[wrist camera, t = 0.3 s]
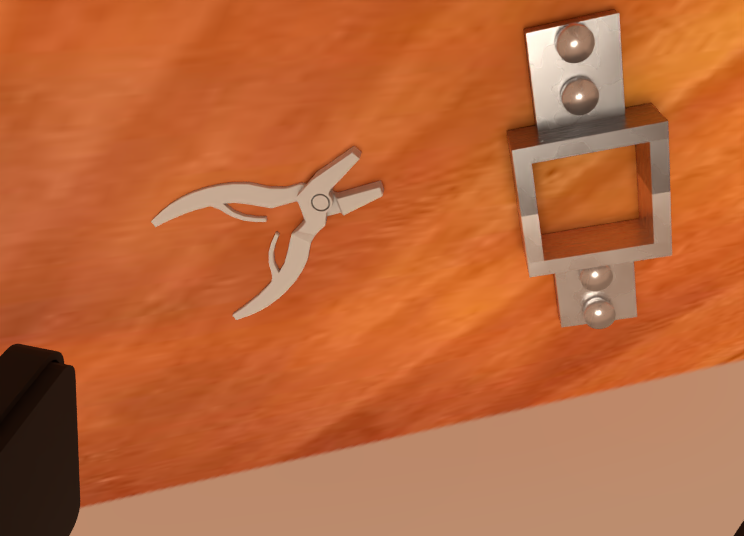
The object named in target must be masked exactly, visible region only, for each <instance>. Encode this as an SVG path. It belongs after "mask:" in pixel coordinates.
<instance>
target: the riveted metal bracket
mask: <svg viewBox="0 0 744 536" xmlns="http://www.w3.org/2000/svg"><path fill="white" fill-rule="evenodd" d="M524 37H525V45H526V53H527V61H528V69H529V78H530V86H531V94H532V102H533V110H534V118H535V125H534V126H529V127H523V128H518V129H513V130H508V131H507V138H508V145H509V152H510V159H511V166H512V173H513V180H514V187H515V194H516V201H517V208H518V215H519V222H520V229H521V236H522V243H523V250H524V254H525V259H526V263H527V268H528V272H529V276H530V277H534V276H541V275H547V274H554V281H555V290H556V298H557V306H558V314H559V320H560V323H561V327H567V326H574V325H582V324H587V325H589V326H590V327H592V328H595V329H603V328H606V327H608V326H610V325H611V324H612V323H613V322H614V320H617V319H625V318H632V317H637V308H636V291H635V274H634V261H639V260H645V259H652V258H658V257H665V256H671V255H672V236H671V201H670V166H669V131H668V120H667V119H666V118H665V117H664V116H663V115H662V114H661V113H660V112H659V111H658V110H657V109H656V108H655V106H654V105H653V104H652V103H648V104H643V105H637V106H632V107H627V108H625V104H624V87H623V69H622V52H621V35H620V18H619V13H618V12H617V11H616V10H615V9H613V10H609V11H604V12H600V13H595V14H591V15H586V16H582V17H577V18H572V19H568V20H563V21H559V22H554V23H550V24H545V25H540V26H536V27H531V28H527V29H524ZM635 144H636V163H637V182H638V201H639V219H634V220H628V221H621V222H615V223H609V224H603V225H597V226H591V227H585V228H579V229H573V230H567V231H561V232H555V233H548V234H542V235H541V233H540V225H539V217H538V209H537V202H536V194H535V186H534V178H533V171H532V163H537V162H542V161H548V160H553V159H559V158H564V157H570V156H575V155H580V154H586V153H591V152H597V151H602V150H608V149H613V148H619V147H624V146H630V145H635Z"/></svg>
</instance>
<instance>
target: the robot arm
mask: <svg viewBox="0 0 744 536" xmlns="http://www.w3.org/2000/svg"><path fill="white" fill-rule="evenodd" d="M79 508H80V483H79V457H78V431H77V405H76V379H75V369H74V367H73V366H71V365H66V364H64V359H63V356H62V354H61V353H60V352H57V351H53V350H47V349H42V348H37V347H32V346H27V345H22V344H14V345H12V346H10V347H9V348H8V349H7V350H6V351H5V352H4V353H3V354H2V355H1V356H0V536H69V535H70V533H71V531H72V529H73V527H74V525H75V523H76V520H77V517H78V513H79ZM734 536H744V521H743V523H742V524H741V526H740V527H739V529H738V530H737V532H736V533H735V535H734Z"/></svg>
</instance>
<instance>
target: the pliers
mask: <svg viewBox="0 0 744 536" xmlns="http://www.w3.org/2000/svg"><path fill="white" fill-rule="evenodd" d="M360 156H361V151H360V150H359V149H358V148H356V147H355V146H353V147H352V148H350V149H349V150H347V151H346V152H345V153H343V154H342V155H340V156H339V157H337V158H336V159H335V160H333V161H332V162H330V163H329V164H327V165H326V166H324V167H323V168H322V169H320V170H319V171H317V172H316V174H315V175H314V176H313V177H312V178H311V180H310V181H309V182H308V183H307V184H306V183H303V182H301V183H298V184H294V185H291V186H288V187H283V186H266V185H261V184H256V183H252V182H230V183H222V184H217V185H213V186H208V187H205V188H202V189H199V190H195V191H193V192H191V193H189V194H186V195H184V196H182V197H180V198H179V199H177V200H175V201H174V202H172V203H171V204H169V205H168V206H167V207H166V208H165V209H163V210H162V211H161V212H160V213H159V214H158V215H157V216H156V217H155V218H154V219H153V220H152V221H151V222H152V223H153V225H154V226H155V227H157V226H158V225H160V224H162V223H164V222H166V221H169V220H171V219H173V218H176V217H178V216H180V215H183V214H185V213H188V212H191V211H194V210H197V209H201V208H205V207H209V206H211V207H214V208H217V209H220V210H221V211H223V212H225V213H226V214H228V215H230V216H232V217H235V218H238V219H241V220H244V221H253V222H266V221H267V216H254V215H247V214H243V213H241V212H238V211H236V210H234V209H233V208H231V207H230V206H229V205H228V204H227V203H242V204H250V205H256V206H262V207H267V208H274V207H278V206H281V205H285V204H288V203H292V202H295V201H297V202H298V203H299V205H300V208H301V211H302V214H303V216H304V219H305V220H303V221H302V223H301V224H300V225H299V226H298V227H297V228H296V229H295V230H294V231H293V232H292V235H291V239H290V244H289V249H288V253H287V256H286V260H285V263H284V264H283V266H282V268H281V270H279V268H278V266H277V264H276V262H275V256H274V249H275V245H276V241H277V239H278V236H279V234H280V233H279V232H277V231H276V234H275V236H274V238H273V240H272V243H271V246H270V250H269V265H270V269H271V273H272V281H271V282H270V283H269V284H268V285H267V286H266V287H265V288H264V289H263V290H262V291H261V292H260V293H259V294H258V295H257V296H256V297H254V298H253V299H252V300H251V301H249V302H248V303H247V304H245V305H244V306H243V307H241V308H240V309H238V310H237V311H236V312H234V313H233V317H234V318H235V319H236V320H238V319H241V318H244V317H246V316H249V315H251V314H254V313H256V312H259V311H260V310H262V309H264V308H265V307H267V306H269V305H270V304H272V303H273V302H274V301H276V300H277V299H279V298H280V297H281V296H282V295H283V294H284V293H285V292H286V291H287V290H288V289H289V288H290V287H291V285H292V284H293V283H294V282H295V281H296V279H297V278H298V276H299V275H300V273H301V272H302V270H303V268H304V266H305V264H306V262H307V259H308V256H309V250H310V245H311V241H312V240H313V238H314V236H315V235H316V234H317V233H318V232H319V231H320V230H321V229H322V228H323V227H324V226H325V224H326V221H327V216H330V215H333V214H337V213H342V214H343V215H345V214H347V213H349V212H351V211H353V210H355V209H357V208H359V207H361V206H363V205H365V204H367V203H369V202H371V201H373V200H375V199H377V198H379V197H381V196H383V191H384V188H383V185H382V182H381V181H377V182H374V183H370V184H367V185H363V186H359V187H356V188H352V189H349V190H345V191H342V192H334V191H333V189H332V187H333V186H334V185H335V184H336V183H337V182H338V181H339V180H340V179H341V178H342V177H343V176H344V175H345V174H346V173H347V172H348V171H349V170H350V169H351V167H352V166H353V165H354V164H355V163H356V162H357V161H358V160H359V159H360Z"/></svg>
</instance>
